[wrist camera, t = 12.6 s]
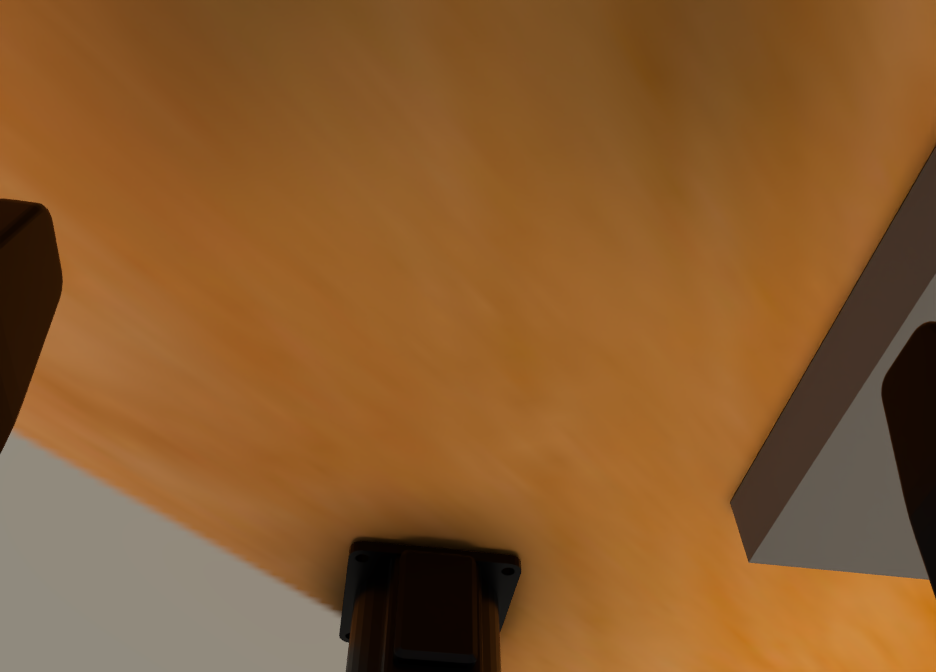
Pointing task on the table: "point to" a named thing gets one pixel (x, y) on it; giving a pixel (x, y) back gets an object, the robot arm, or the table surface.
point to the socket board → (848, 422)
